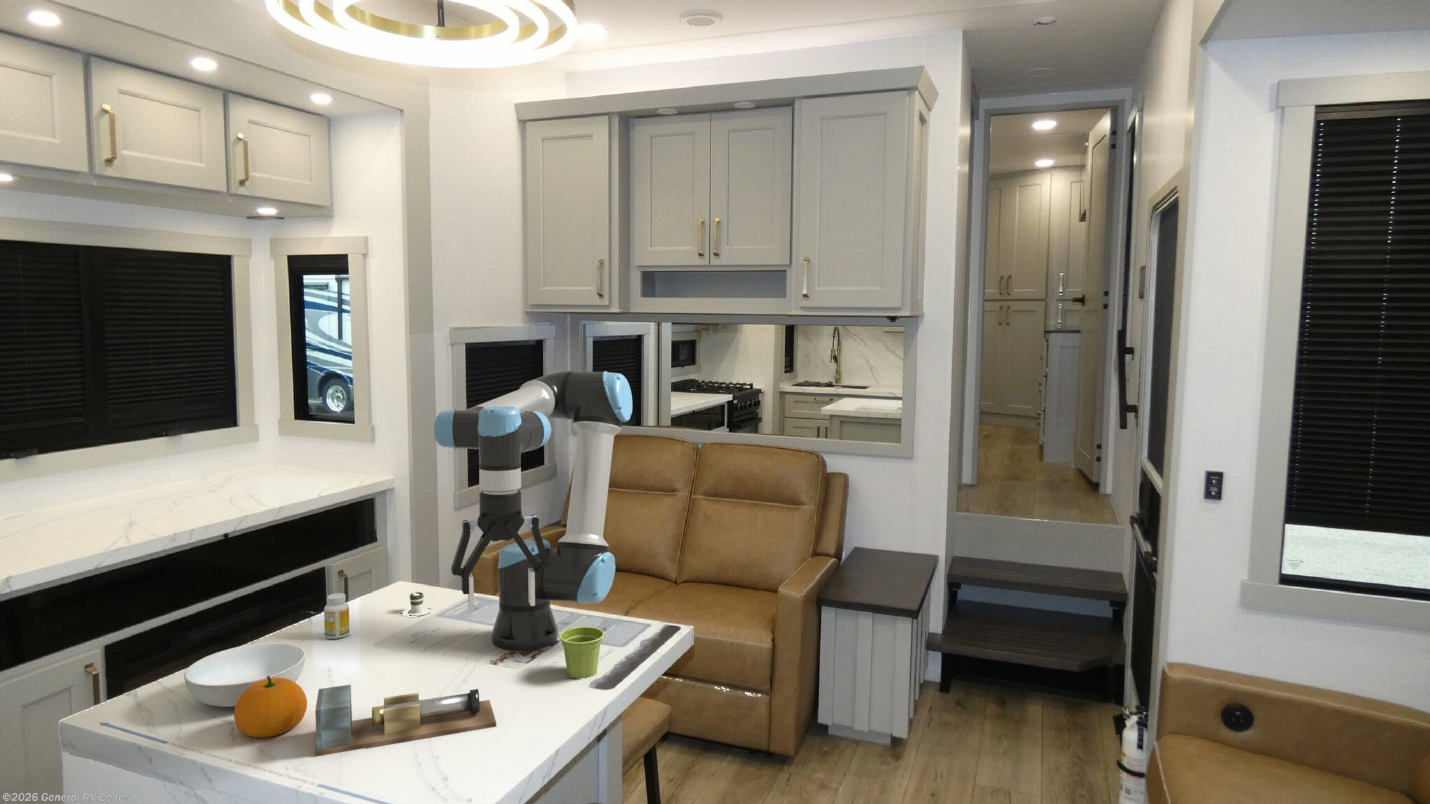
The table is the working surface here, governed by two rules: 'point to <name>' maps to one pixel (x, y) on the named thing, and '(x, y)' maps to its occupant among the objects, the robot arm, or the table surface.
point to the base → (385, 722)
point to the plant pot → (581, 650)
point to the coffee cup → (416, 603)
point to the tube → (435, 706)
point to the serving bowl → (241, 671)
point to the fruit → (270, 707)
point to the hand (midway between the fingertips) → (501, 607)
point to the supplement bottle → (336, 616)
